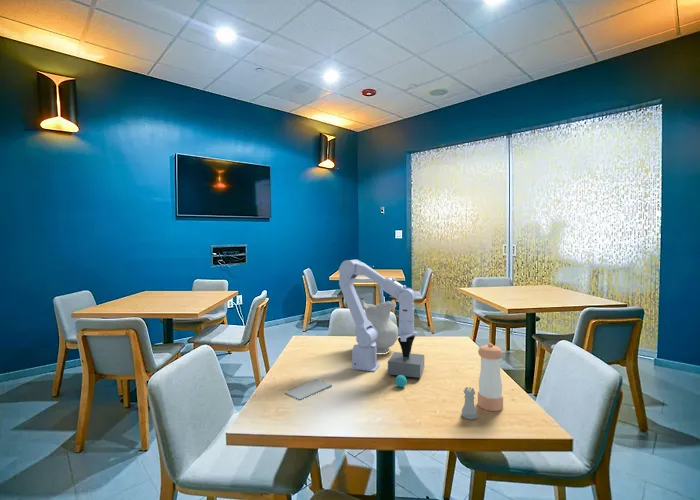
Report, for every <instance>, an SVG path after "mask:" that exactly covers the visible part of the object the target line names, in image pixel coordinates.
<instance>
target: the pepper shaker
mask: <svg viewBox="0 0 700 500" xmlns="http://www.w3.org/2000/svg"><path fill="white" fill-rule="evenodd" d="M477 353H478V355H479V357H480V373H479V378H478V392H477V407H479V408H481V409H483V410H484V411H488V412H489V411H490V412H500V411H502V410H503V409H504V395H503V391H502V390H503V382H502V375H501V359H502V358H503V355H504V353H503V350H502V348H500V347H499V346H497V345H494V344H493V343H491V342H489V343H487V344H484V345H481V346H480V347H479V348H478V350H477Z"/></svg>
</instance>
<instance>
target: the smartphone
mask: <svg viewBox="0 0 700 500" xmlns="http://www.w3.org/2000/svg"><path fill="white" fill-rule="evenodd" d="M330 388H332V384H331V383H328V382H326V381H322V380H320V379H319V378H317V379H313V380H311V381H308V382H306V383H304V384H301V385H299V386H296V387H295V388H292V389H290V390H288V391H285V392H284V394H285V395H286V394H287V395H286V396H288V395H289V397H290V396H291V398H293V397H294V398H293V399H295V398H296V399H295V400H297V399H298V400H297V401H302V399H303V400H304V398H305V399H307V398H309V396H310V397H312V396H314V395H316V393H317V394H319V393H321V392H324V391H326V390H327V389H330ZM325 389H326V390H325ZM318 392H319V393H318ZM311 395H312V396H311Z"/></svg>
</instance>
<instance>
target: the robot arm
mask: <svg viewBox="0 0 700 500" xmlns="http://www.w3.org/2000/svg"><path fill="white" fill-rule="evenodd" d="M338 272H339V276H338V277H339V280H338V285H339V288H340V290H341V293H342V295H343V298H344V300H345V302H346V304H347V308H348V309H349V312H350V314H351V317H352V319H353V322H354V324H355V328H354V332H355V335H356V337H355V338H356V339H355V341H356V342H357V343H355V344H354V345H353V347H352V350H351V351H352V353H351V357H352V358H351V359H352V360H351V369H352V370H358V371H365V370H366V372H376V370H377V369H378V368H379V366H380V363H377V354H376V342H375V340H377V338H378V332H377V330H376V329H375V328H374V327H373V325H372V323H371V322H370V321H369V320H368V319H367V317H366V314H365V310H364V307H363V305H362V304H361V302H360V300H359V298H358V297H359V295H358V294H357V290H356V288H355V286H354V282H355V281H356V279H357V276H364V277H366V278H368V279H370V280H372V281H373V282H374V283H377V284H378V285H380V286H381V289H382V291H384V292H386V294H388V295H390V296H391V297H393V298H395V299H396V300H397V302H398V305H399V308H398V309H399V310H398V314H399V315H398V317H399V318H398V319H399V320H398V338H397V341H398V343H399V345H400V350H401V353H402V354H403V357H409V354H412V348H413V347H412V346H413V343H414V340H415V337H416V336H417V335H418V332H417V331H415V300H416V292H415V291H414V290H413V289H412V288H411V287H407V285H405V284H404V285H403V284H401V283H400V282H399V281H397V279H396V278H395V277H393V278H392V277H384V276H383V275H381V273H379V272H378V271H376V270H375V269H374V268H372V267H371V266H370V265H367V264H366V263H364V262H362V261H361V260H359V259H350V260H349V259H348V260H347V259H346V260H344V261H342V263H341V264H340V265H339V268H338Z"/></svg>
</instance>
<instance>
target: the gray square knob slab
mask: <svg viewBox="0 0 700 500" xmlns="http://www.w3.org/2000/svg"><path fill="white" fill-rule="evenodd" d="M424 369H425V354H418V353H410V354H409V357H403V354H402V352H397V351H394V352H393V353H392V354H391V356H390V358H389V359H388V360H387V375H392V376H398V375H403V376H405V377H410V378H416V379H417V378H419V379H420V378H421V377H422V374H423V372H424Z"/></svg>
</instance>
